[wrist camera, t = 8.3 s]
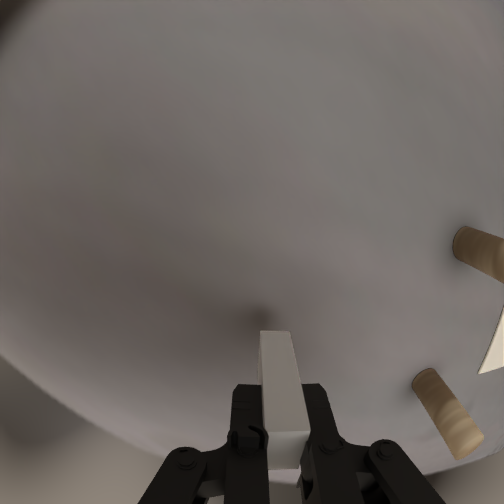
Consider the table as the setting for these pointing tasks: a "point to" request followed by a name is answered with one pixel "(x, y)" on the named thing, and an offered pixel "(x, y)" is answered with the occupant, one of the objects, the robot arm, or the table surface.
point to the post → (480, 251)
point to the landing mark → (495, 349)
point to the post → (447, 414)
